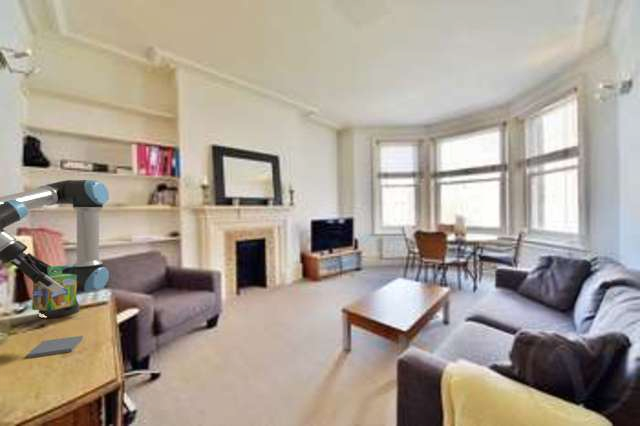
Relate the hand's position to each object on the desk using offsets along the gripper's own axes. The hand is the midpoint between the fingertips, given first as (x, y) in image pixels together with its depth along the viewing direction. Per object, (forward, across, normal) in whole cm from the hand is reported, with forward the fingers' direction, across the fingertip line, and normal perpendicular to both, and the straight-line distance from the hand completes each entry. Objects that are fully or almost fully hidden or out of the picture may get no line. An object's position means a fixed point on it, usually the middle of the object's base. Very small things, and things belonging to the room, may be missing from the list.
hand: (63, 287), depth 110 cm
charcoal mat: (+14, +1, -16) cm, 21 cm away
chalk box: (+4, 0, -7) cm, 8 cm away
